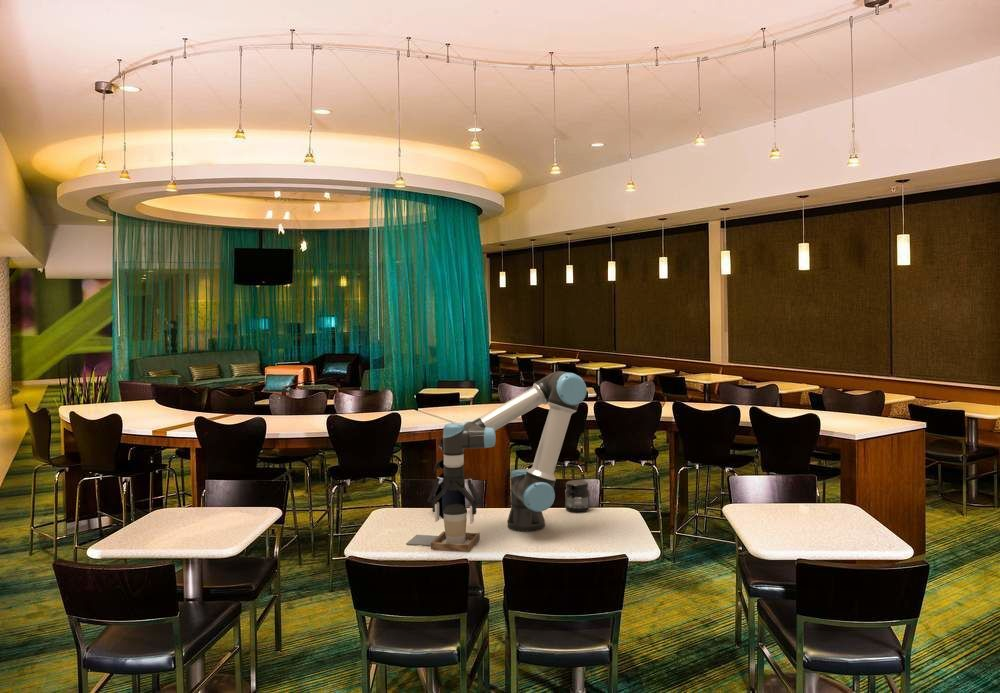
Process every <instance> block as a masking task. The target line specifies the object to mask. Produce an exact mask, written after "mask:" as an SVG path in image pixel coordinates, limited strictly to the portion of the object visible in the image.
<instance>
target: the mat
mask: <svg viewBox="0 0 1000 693" xmlns="http://www.w3.org/2000/svg"><path fill="white" fill-rule="evenodd" d="M438 536H439V535H429V534H416V535H414V536H413V537H412V538H411V539H409V540H408V541H407V542H406V543H405V545H406V544H407V545H406V546H417V545H422V546H421V547H431V543H432V542H433V541H434V540H435V539H436V538H437V537H438ZM408 544H409V545H408Z"/></svg>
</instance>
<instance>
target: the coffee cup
mask: <svg viewBox="0 0 1000 693" xmlns="http://www.w3.org/2000/svg"><path fill="white" fill-rule="evenodd" d="M443 513H444V519H443V524H444V525H443V526H444V531H445V535H446V539H445V541H446V542H445V543H453V544H466V540H465V535H466V533H467V514H468V510H467V507H466V506H465V507H464V505H462V504H449V505H447V506H446V508H444V509H443Z"/></svg>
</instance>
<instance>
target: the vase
mask: <svg viewBox="0 0 1000 693" xmlns="http://www.w3.org/2000/svg"><path fill="white" fill-rule="evenodd" d="M437 445H438V448H439V450H440V451H441V452H442V453H443V456H442V458H441V459H439V460H438V461H437V462H436V463H435V465H434V469H433V470H434V473H436V472H437V470H439V471H440V469H442V470H443V471H442V473H441V474H440V475H439V476H438V477H440V478H444V466H445V465H444V447H443V437H441V438H440V440H439V437H437ZM435 480H436V478H435V479H434V481H435ZM465 484H466V483H464V487H465V488H466V485H465ZM444 487H445V484H444V483H443V481H442V483H440V485H439V487H438V489H437V491H436V493H435V497H436V496H437V495H438V494H439V493H440V492H441V490H442V489H443V488H444ZM437 503H439V518H441V519H443V520H444V513H443V509H444V508H446V506H447V505H449V504H462V505H464V507H465V508H466V497H465V496H464V495H463V494H462V492H460V491H459V490H458V491H454V490H452V491H450V490H448V489H447V490H446V492H445V493H444V494H443V495H442V496H441V497H440V499H439V500H438V501H437Z"/></svg>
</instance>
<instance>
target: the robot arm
mask: <svg viewBox="0 0 1000 693" xmlns="http://www.w3.org/2000/svg"><path fill="white" fill-rule="evenodd" d="M587 392H588V390H587V385H586V383H585V380H584V379H583V378H582V377H581V376H580V375H577V374H576V373H574V372H568V371H562V370H558V371H554V372H552V373H549V374H548V375H546V376H544V377H542V378H541V379H540V380H539V379H538V381H536V382H535V383H533V385H532V387H531V388H529V389H527V390H526V391H524V392H522V393H520V394H519V395H517V396H515V397H513V398H512V399H510V400H508V401H506V402H504V403H503V404H501V405H499V406H498V407H495V408H493V410H491V411H489V412H487V413H485V414H484V415H482V416H480V417H478V418H476V419H474V420H473V421H467V422H465V423H463V424H462V423H459V422H452V423H450V422H449V423H446V424H445V425H444V426H443V433H442V434H443V435H442V439H443V447H444V453H443V455H444V465H445V466H444V478H440V477H439V476H437V477H436V478H435V479H436V480H435V479H434V486H433V488H432V490H431V492H430V494H429V496H428V498H427V502H428V503H431V504H432V513H434V522H438V521H440V516H439V503H437V501H438V500H439V499H440V497H441V496H442V495H443V494H444V493H445V492H446V490H447V489H448V490H450V491H452V490H454V491H458V490H459V491H460V492H462V494H463V495H464V496H465V500H467V501H468V502H469V504H470V506H469V525H473V524H474V522H475V516H476V514H477V506H478V505H480V504H481V503H482V500H481V498H480V496H479V493H478V491H477V489H476V487H475V486H474V482H473V481H474V480H473V478H470V477H469V479H467V478H465V466H464V464H465V459H464V458H465V454H464V453H465V452H464V450H469V449H487V448H493V447H495V445H496V440H497V438H496V437H497V436H496V431H497V430H499V429H500V428H502V427H504V426H506V425H508V424H510V423H511V422H513V421H514V420H516V419H518V418H519V417H521V416H523V415H525V414H527V413H528V412H530V411H532V410H533V409H535V408H537V407H539V406H540V405H544V406H545V405H548V406H549V409H548V414H547V417H546V421H545V422H544V423H545V424H544V426H543V430H542V432H541V437H540V440H539V442H538V443H539V444H538V447H537V449H536V452H535V457H534V460H533V462H532V463H533V464H532V466H531V468H521V469H515V470H511V472H510V478H509V480H510V502H511V503H510V506H511V507H510V511H509V514H508V518H507V522H506V523H507V524H506V526H507V528H508V529H509V530H511V531H514V532H516V531H517V532H524V533H525V532H535V531H540V530H542V529H544V528H545V526H546V522H545V518H544V514H543V512H545V511H546V510H548V509H550V508H551V507H552V505H553V504H554V503H555V502H554V501H555V498H556V493H555V489H554V487H555V485H556V481H557V479H556V477H555V475H554V474H555V470H556V466H557V463H558V459H559V456H560V453H561V450H562V447H563V444H564V440H565V436H566V433H567V430H568V427H569V424H570V420H571V416H572V415H573V414H574V413H576V412H577V411H578V408H579V404H581V403H582V402H583V401H584V400H585V398H586V397H587ZM442 481H443V483H444V484H445V487H444V488H443V489H442V490H441V492H440V493H439V494H438V495H437V496H436V491H437V489H438V487H439V485H440V483H442ZM464 483H465V484H466V485H467V486H468V489H469V491H470V492H469V491H468V490H467V488H466V486H465V487H464ZM470 493H471V494H470Z"/></svg>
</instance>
